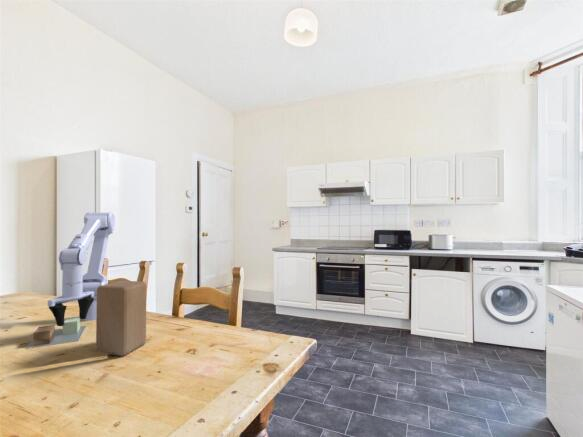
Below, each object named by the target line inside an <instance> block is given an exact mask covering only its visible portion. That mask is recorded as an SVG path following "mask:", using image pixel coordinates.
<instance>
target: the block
mask: <svg viewBox="0 0 583 437" xmlns="http://www.w3.org/2000/svg"><path fill="white" fill-rule="evenodd" d="M147 287H148V286H147V282H145V281H131V280H119V281H115V282H112V283H111V282H110V283H108V284H106V285H102V286H99V287H98V288H97V319H96V320H95V321H96V327H95V328H96V331H95V332H96V333H95V334H96V336H95V340H96V341H95V351H97V352H105V353H107V352H108V356H109V355H110V356H119V357H123V356H126V355H128V354H130V353H132V352H134V350H137V349H138V348H140V347H142V346H144V345H145V344H146V342H147Z"/></svg>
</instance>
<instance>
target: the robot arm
mask: <svg viewBox="0 0 583 437" xmlns="http://www.w3.org/2000/svg"><path fill="white" fill-rule="evenodd" d="M83 216H84V217H83V222H84V226H83V228H82V230H81V232H80V233H78V234H76V235H75V236H74V238H73V239H72V241H71V242H70V244H69V245H68V247H67V248H64V249H63V250H61V251H60V252H59V256H58V262H59V264H60V265H59V266H60V270H61V271H62V280H61V281H62V285H61V296H58V297H55V298H51V299H49V300H47V307H48V309H49V310H50V311H51V312H50V313H52V315H53V317H54V319H55V322H56V326H57V327H63V325H64V321H65V315H66V314H65V313H66V310H67V306H68V305H64V304H67V303H69V302H70V303H71V302H75V301H77V303H78V310H79V312H78V313H79V314H78V315H79V316H78V317H80V322H81V321H82V322H90V321H96V319H97V288H98V287H99V286H102V285H106V284H109V280H108V277H107V276H105V275H104V274H103V272H102V271H103V268H104V263H105V262H104V260H105V257H106V251H107V246H108V240H109V236H110V235H112V234H113V233H114V230H115V229H114V228H115V224H116V220H115V214H114V213H113V212H112V211H110V212H90V211H88V212H86V213H85V214H84V215H83ZM93 236H94V237H93ZM92 237H93V239H92ZM92 243H93V244H92ZM91 245H92V248H91V253H90V257H89V262H88V268H87V272H86V273H84V272H83V271H84V264H85V262H87V258H88V256H87V255H88V251H89V249H90V246H91Z"/></svg>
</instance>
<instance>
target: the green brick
mask: <svg viewBox="0 0 583 437" xmlns="http://www.w3.org/2000/svg"><path fill="white" fill-rule="evenodd" d="M80 326H81V320H80V317H79V316H74V317H73V316H72V317H65V319H64V325H63V326H62V329H63V335H67V334H74V333H78V331H79V329H80Z"/></svg>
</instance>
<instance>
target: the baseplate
mask: <svg viewBox="0 0 583 437" xmlns="http://www.w3.org/2000/svg"><path fill="white" fill-rule="evenodd" d="M86 327H87V325H82V326H81V325H80V329H79V331H78V333H74V334H67V335H63V328H57V329H55V337H54V338H53V340H52V341H51V343H50V344H44V345H37V346H33V340H31V342H29V344H28V345H27V346H26V347H25V349H24V350H27V349H28V350H29V349H33V348H40V347H41V348H42V347H49V346H53V345H55V346H56V345H62V344H68V343H76V342H79V340H80V339H81V336H82V334H83V333H84V331H85V329H86Z"/></svg>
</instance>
